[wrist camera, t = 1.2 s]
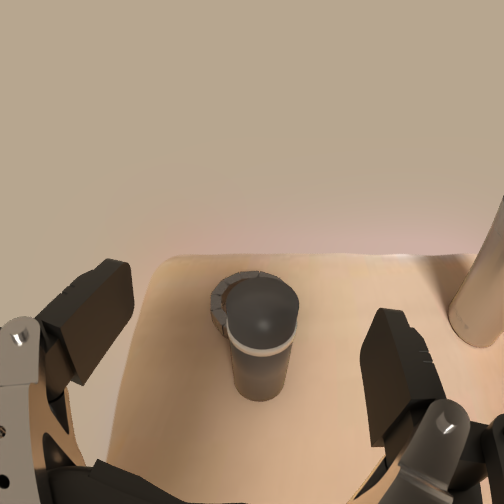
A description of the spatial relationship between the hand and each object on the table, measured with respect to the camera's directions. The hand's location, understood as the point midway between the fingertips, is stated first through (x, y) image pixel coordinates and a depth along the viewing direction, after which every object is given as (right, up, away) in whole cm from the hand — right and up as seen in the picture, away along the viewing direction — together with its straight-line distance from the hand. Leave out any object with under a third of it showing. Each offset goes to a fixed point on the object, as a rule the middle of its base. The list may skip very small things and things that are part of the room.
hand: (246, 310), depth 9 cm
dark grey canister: (+1, -11, +19) cm, 22 cm away
